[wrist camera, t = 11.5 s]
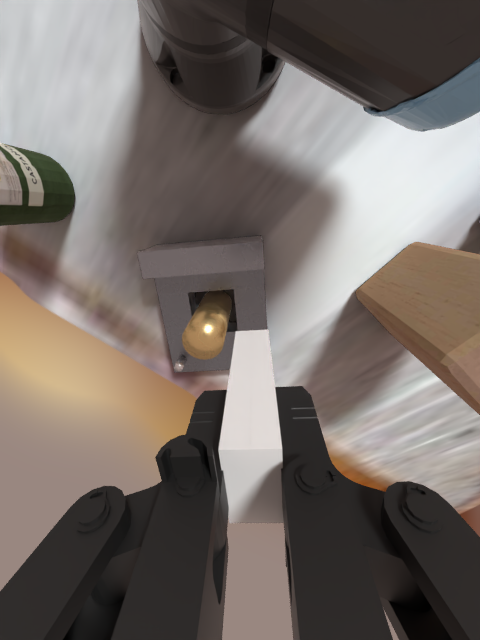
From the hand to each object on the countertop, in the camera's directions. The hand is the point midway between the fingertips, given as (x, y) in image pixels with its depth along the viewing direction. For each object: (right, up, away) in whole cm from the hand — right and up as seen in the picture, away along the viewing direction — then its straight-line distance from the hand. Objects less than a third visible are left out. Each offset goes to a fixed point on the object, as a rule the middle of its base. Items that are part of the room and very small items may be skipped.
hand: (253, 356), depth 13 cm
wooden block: (+22, +6, +25) cm, 34 cm away
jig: (-4, +4, +27) cm, 27 cm away
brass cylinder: (-4, +4, +27) cm, 27 cm away
